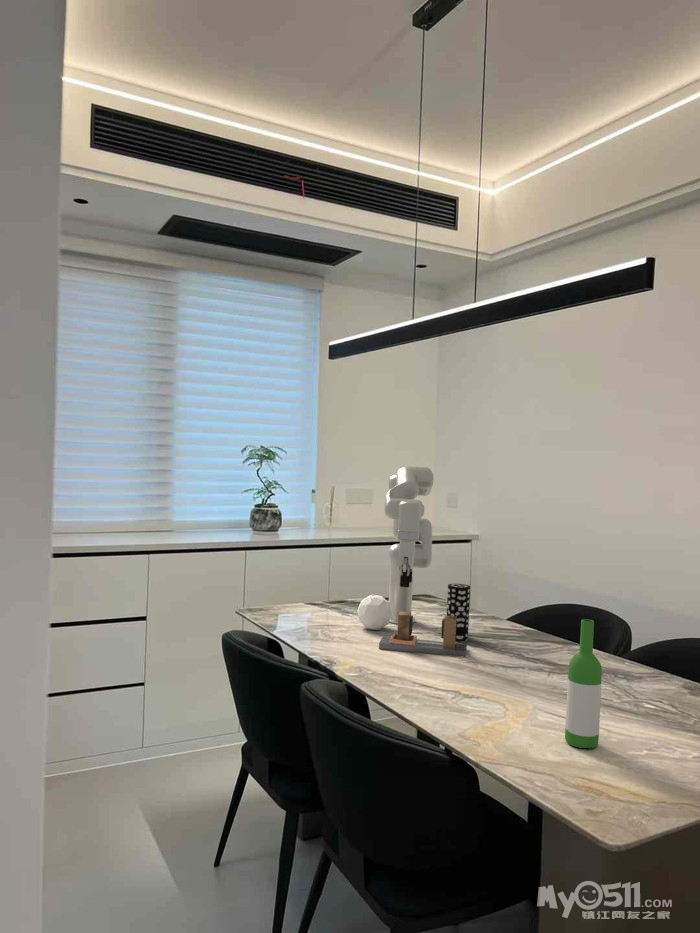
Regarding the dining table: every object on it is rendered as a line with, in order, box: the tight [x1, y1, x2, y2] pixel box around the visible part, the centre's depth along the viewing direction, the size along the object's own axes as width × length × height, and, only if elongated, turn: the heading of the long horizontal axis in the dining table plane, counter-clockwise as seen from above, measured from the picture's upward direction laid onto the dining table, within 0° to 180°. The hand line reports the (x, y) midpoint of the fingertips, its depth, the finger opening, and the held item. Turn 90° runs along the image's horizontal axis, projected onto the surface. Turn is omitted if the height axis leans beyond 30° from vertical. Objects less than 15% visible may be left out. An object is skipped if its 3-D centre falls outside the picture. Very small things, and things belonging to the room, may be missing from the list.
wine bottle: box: [564, 618, 603, 749], centre depth 172 cm, size 8×8×30 cm
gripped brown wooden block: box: [396, 611, 414, 640], centre depth 252 cm, size 5×5×10 cm
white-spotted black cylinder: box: [446, 583, 471, 643], centre depth 268 cm, size 8×8×20 cm
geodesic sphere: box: [356, 594, 392, 631], centre depth 277 cm, size 14×14×14 cm
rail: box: [378, 614, 468, 658], centre depth 251 cm, size 10×30×12 cm, turn 80°
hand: (405, 584), depth 252 cm, fingers open, 9 cm apart
